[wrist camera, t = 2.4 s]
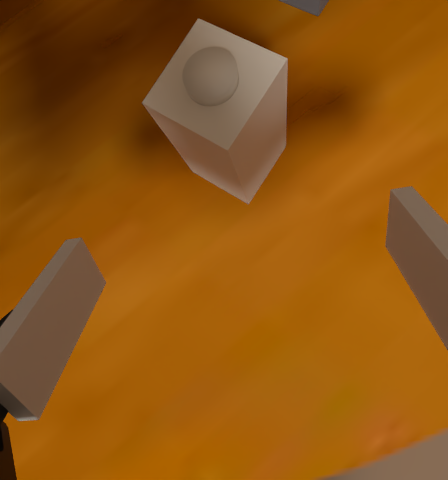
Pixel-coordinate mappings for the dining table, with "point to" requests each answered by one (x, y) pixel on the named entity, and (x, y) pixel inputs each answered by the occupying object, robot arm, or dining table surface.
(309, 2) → the base plate
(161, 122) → the tower brick
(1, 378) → the robot arm
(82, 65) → the dining table surface
